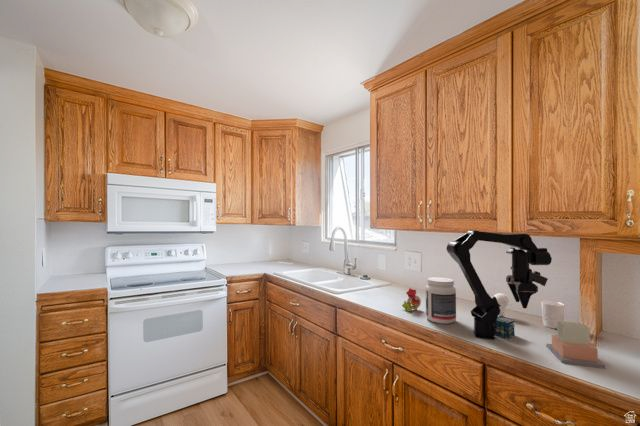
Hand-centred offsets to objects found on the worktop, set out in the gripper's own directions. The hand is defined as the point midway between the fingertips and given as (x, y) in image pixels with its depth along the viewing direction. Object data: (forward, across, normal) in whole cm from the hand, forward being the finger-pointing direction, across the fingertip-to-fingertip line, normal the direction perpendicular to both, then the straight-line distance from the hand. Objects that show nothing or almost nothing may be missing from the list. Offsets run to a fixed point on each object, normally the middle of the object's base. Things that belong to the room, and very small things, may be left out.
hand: (521, 305), depth 117 cm
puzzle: (+12, -1, +6) cm, 14 cm away
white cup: (+12, +17, -16) cm, 26 cm away
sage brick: (+7, -15, -11) cm, 20 cm away
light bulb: (+12, +24, +2) cm, 27 cm away
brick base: (+12, -15, -11) cm, 22 cm away
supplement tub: (+12, +9, +29) cm, 33 cm away
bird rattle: (+12, +20, +42) cm, 48 cm away
